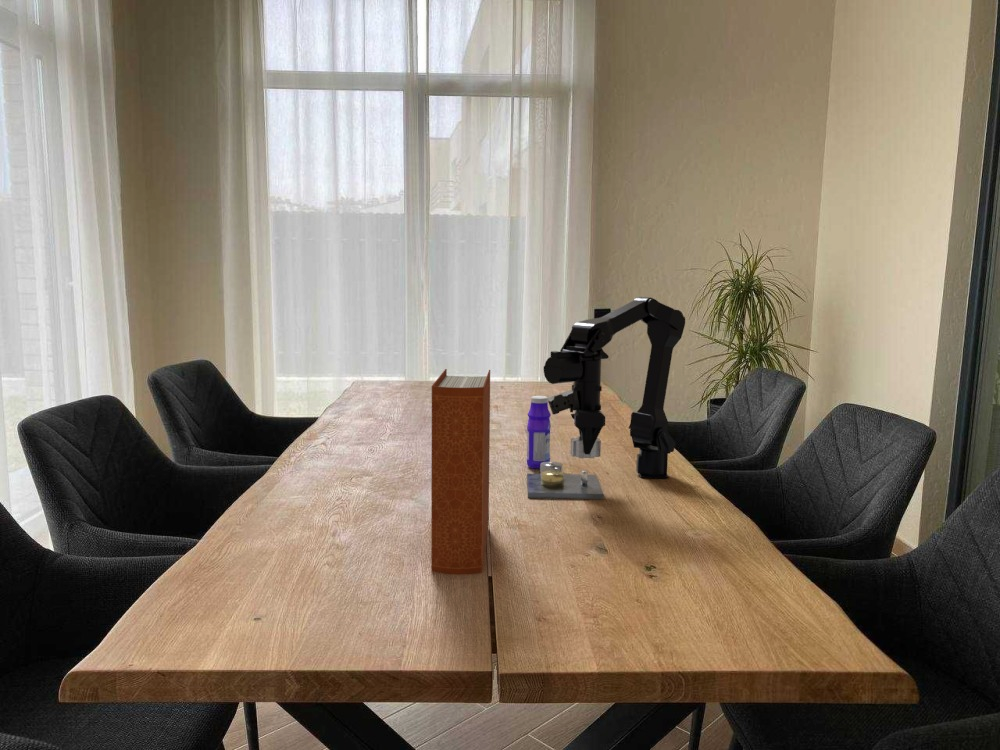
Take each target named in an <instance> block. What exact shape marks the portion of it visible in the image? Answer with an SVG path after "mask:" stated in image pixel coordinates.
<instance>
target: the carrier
mask: <svg viewBox="0 0 1000 750" xmlns="http://www.w3.org/2000/svg"><path fill="white" fill-rule="evenodd" d="M539 471H540V473H526V484H527V486H526V488H527V498H528V499H550V500H551V499H552V500H553V499H555V500H557V499H558V500H560V499H561V500H562V499H563V500H564V499H565V500H572V499H573V500H604V498H605V497H604V491H603V489H602V486H601V484H600V481H599V479H598V476H597V474H589V472H588V471H589V470H581V473H579V474H578V473H577V474H575V473H574V474H573V473H565V472H563V463H561V462H558V461H550V462H542V463H541V464H540V469H539Z"/></svg>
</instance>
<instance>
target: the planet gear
mask: <svg viewBox="0 0 1000 750" xmlns="http://www.w3.org/2000/svg"><path fill="white" fill-rule="evenodd" d="M601 443H602V440H601V439H600V438H599V437H597V439H596V441H595V444H594V446H593V448H592V450H591V452H590V454H585V453H584V448H583V441H582V437H581V436H580V435H579V436H577V437H572V438H571V437H570V455H571V457H573V458H574V457H575V458H578V459H591V460H592V459H595V458H600V457H601V445H602V444H601Z"/></svg>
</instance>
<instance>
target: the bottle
mask: <svg viewBox="0 0 1000 750" xmlns="http://www.w3.org/2000/svg"><path fill="white" fill-rule="evenodd" d="M548 398H549V397H548V396H546V395H545V396H544V395H533V396H531V397H530V408H529V410H528V413H527V416H528V420H527V427H526V430H527V434H526V435H527V436H526V437H527V442H526V443H527V445H526V465H527V467H528V468H530V469H535V470H536V469H538V470H540V464H541V463H542V462H551V427H552V426H551V425H552V424H551V420H550V419H551V416H552V413H551V412H550V410H549V403H548Z"/></svg>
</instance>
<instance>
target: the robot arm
mask: <svg viewBox="0 0 1000 750" xmlns="http://www.w3.org/2000/svg"><path fill="white" fill-rule="evenodd" d="M640 321H641V322H642V323H644V324H645V325H646V328H647V329H646V330H647V331H646V334H647V337H648V339H649V342H650V345H651V346H650V354H649V360H648V365H647V370H646V371H647V373H646V378H645V385H644V391H643V395H642V396H643V397H642V403H641V406H640V407H639V409H638V410H637V411H632V412H631V415H630V422H629V426H628V429H629V435H630V437H631V441H632V444H633V445H632V446H633V448H635V449H638V451H639V452H638V453H637V454H636V465H635V469H636V470H635V471H636V472H637V474H638V476H639V477H640V478H641V479H642V478H643V479H645V478H646V479H647V478H648V479H669V477H670V476H669V474H668V458H669V455H670V454H671V453H673V452H674V451H675V448H676V444H677V443H676V441H675V440H674V439H673V437H672V436H671V435H670V433H669V432H668V430H669V429H668V427H669V426H668V425H669V421H668V419H667V416H666V412H665V410H664V405H665V399H666V393H667V388H668V381H669V375H670V369H671V362H672V356H673V352H674V348H675V347H676V345H677V344H678V343H679V341H680V340H681V339H682V337H683V333H684V329H685V326H686V317H685V316H684V314H683V313H682V311H681V310H679V309H675V308H673V307H671V306H669V305H666V304H665V303H662V302H660V301H658V300H657V299H655V298H653V297H651V296H650V297H649V296H648V297H647V296H644V297H643V296H637V297H636V298H634V299H633V300H631V301H630V302H627V303H626V304H624V305H622V306H620V307H619V308H616V309H615V310H613V311H610V312H609V313H606V314H605V315H603V316H600V317H596V318H590V319H585V320H580V321H577V322H575V323H574V324H573V325H572V326H571V330H570V333H569V335H568V336H567V338H566V340H565V341H564V343H563V345H562V347H561V348H560V351H557V350H551V351H550V357H548V358H547V359H546V361H545V363H544V366H543V375H544V378H545V380H546V381H547V383H549V384H551V385H555V384H566V383H573V384H571V390H567V391H564V392H561V393H560V392H559V393H558V394H554V395H552V396H550V397H548V406H549V408H550V411H551V415H558V414H559V413H561V412H563V411H565V410H566V411H567V410H569V412H570V413H571V414H570V416H571V418H572V419H573V420H574V422H573V424H574V427H576V428H577V429H578V432H579V437H580V436H581V437H582V441H583V448H584V453H585V454H590V452H591V450H592V448H593V446H594V444H595V441H596V439H597V438H599V435H600V433H601V431H602V429H603V428H604V427H605V426H606V415H605V414H604V413H603V411H602V405H601V392H602V388H603V387H602V385H601V383H602V381H601V375H602V360H606V359H607V360H608V359H609V358H610V357H609V355H608V354H607V352H605V351H604V350H603V348H604V347H605V346H607V345H608V344H609V343H610V342H611V341H612V339H613V336H615V334H617V333H619V332H621V331H622V330H624V329H627V328H628V327H630V326H631V325H633V324H636V323H638V322H640Z"/></svg>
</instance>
